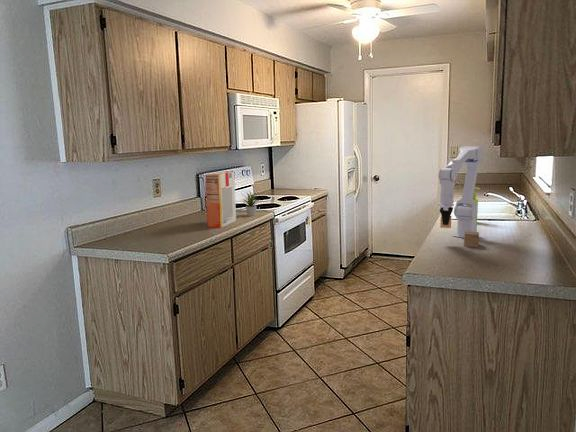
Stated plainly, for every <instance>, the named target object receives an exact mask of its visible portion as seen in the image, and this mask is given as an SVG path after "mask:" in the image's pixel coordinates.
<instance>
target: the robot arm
mask: <svg viewBox="0 0 576 432" xmlns="http://www.w3.org/2000/svg"><path fill="white" fill-rule="evenodd" d="M483 157H484V149H483V148H482V146H480V145H479V146H465V145H464V146H463V145H462V146H461V147H459V150H458V156H457V157H456V158H453V159H451V161H449V163H448V164H447V165H446V166H445V167H442V168H440V170H438V171H439V172H438V179H439V184H440V194H439V195H440V197H439V202H438V203H437V205H436V206H440V207H439V213H440V215H442V221H443V225H448V223H449V219H450V216H452V212H453V215H454V217H455V218H456V219H457V221H456V224H457V225H456V226H457V227H456V234H453V235H452V236H453V237H458V238H461V239H464V237H465V231H471V232H478V230H477V229H478V221H477V222H476V220H475V219H474V218H475V217H476V216H477V217H478V210H479V209H478V210H477V206H478V207H479V204H478V205H477V203H476V202H475V201H474V200H473V194H474V193H475V191H474V188H475V187H476V182H477V177H478V176H477V175H478V171H479V166H480V165H482V162H483V159H484V158H483ZM463 165H465V166H466V167H467V168H466V174H465V179H464V184H463V185H464V186H463V190H462V194H461V198H459V199H458V200H457V201H456V202H455V204H454V197H455V196H454V195H455V191H454V190H455V181H456V180H457V177H458V174H459V172H460V171H461V169H463ZM454 205H455V206H454ZM468 205H472V206H468Z"/></svg>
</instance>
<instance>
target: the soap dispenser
mask: <svg viewBox="0 0 576 432" xmlns="http://www.w3.org/2000/svg"><path fill="white" fill-rule="evenodd" d="M475 190H481V188H480V187H476V186H475V188H474V194H473V200H474V201H475V202H476V203H477V205H478V206H477V210H479V208H478V207H479V199H477V193H476V192H475ZM468 206H472V205H468ZM474 219H475V220H476V222H477V223H478V215H477V216H476V217H475V218H474Z"/></svg>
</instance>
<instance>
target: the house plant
mask: <svg viewBox="0 0 576 432" xmlns="http://www.w3.org/2000/svg"><path fill="white" fill-rule="evenodd" d="M249 193H250V194H249ZM249 193H248V192H246V195H247V196H246V195H244V194H242V196H243V197H245V199H243V203H244V204H246V205H245V210H246V214H247V215H246V216H248V217H255V216H256V214H257V213H256V212H257V205H256V203H258V202H260V200H261V198H260V199H257V198H258V197H259V196H260V194H261V193H263V192H258V193H256V192H253V193H252V192H251V191H249Z"/></svg>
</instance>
